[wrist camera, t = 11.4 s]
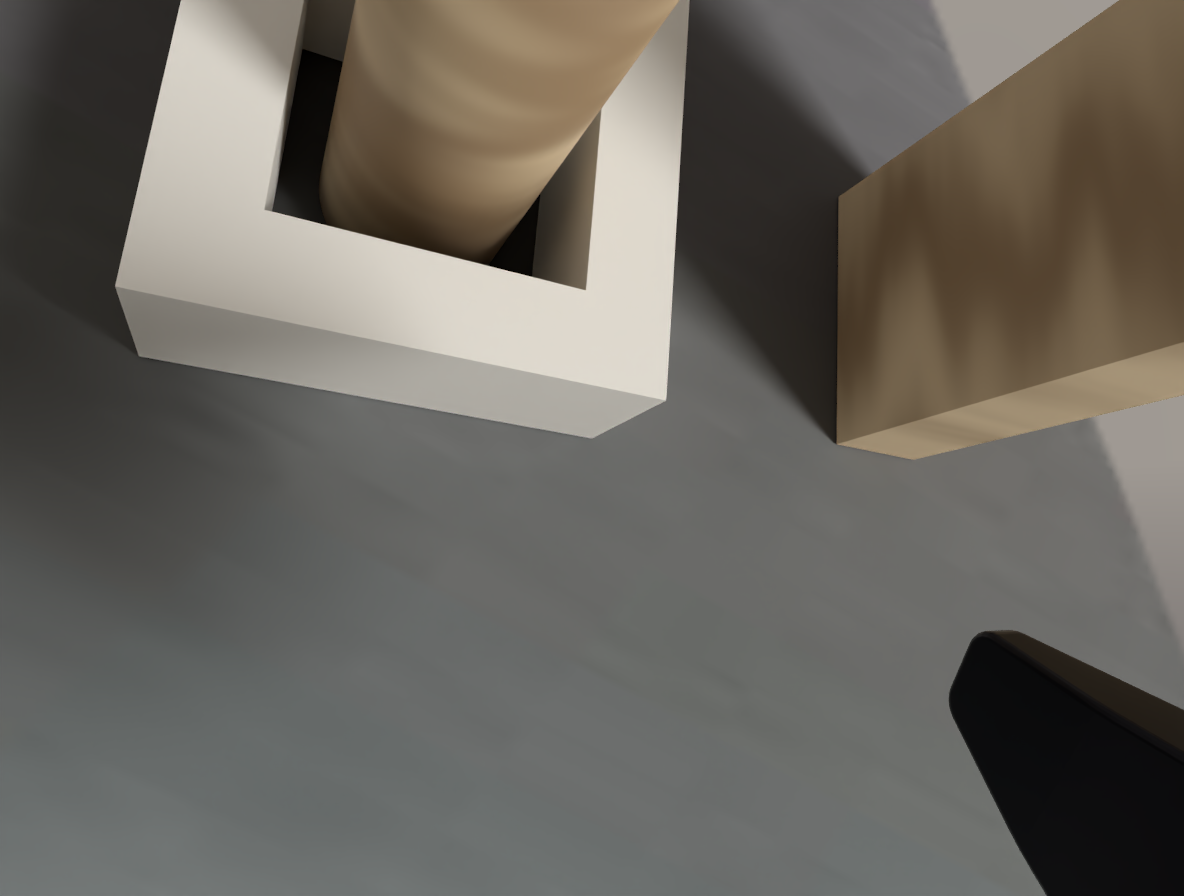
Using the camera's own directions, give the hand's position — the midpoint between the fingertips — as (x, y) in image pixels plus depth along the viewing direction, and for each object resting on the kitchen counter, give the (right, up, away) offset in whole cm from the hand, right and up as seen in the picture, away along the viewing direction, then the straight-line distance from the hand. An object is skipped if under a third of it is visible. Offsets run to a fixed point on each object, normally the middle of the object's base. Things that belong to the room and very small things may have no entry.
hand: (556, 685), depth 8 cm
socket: (-4, +7, +10) cm, 13 cm away
